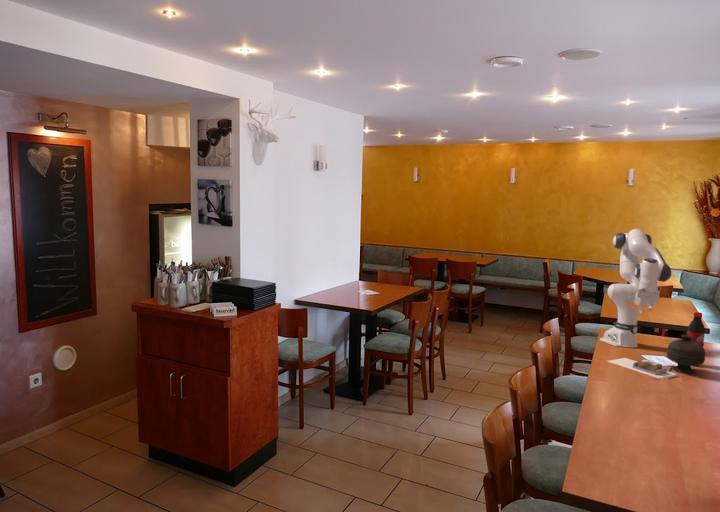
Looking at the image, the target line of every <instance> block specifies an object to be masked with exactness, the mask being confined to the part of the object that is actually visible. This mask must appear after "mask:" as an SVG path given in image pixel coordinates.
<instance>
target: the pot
mask: <svg viewBox="0 0 720 512" xmlns="http://www.w3.org/2000/svg"><path fill="white" fill-rule="evenodd" d="M680 335H681V336H680V338H678V339H674V340H672V341H670V342H669V343H668V345H667V348H666V357H667V358H668V359H669V360H671V361H672V362H675V363H676V364H677V365H675V366H674V367H672V370H673V371H675V372H677V373H681V374H685V375H686V374H687V375H692V374H695V373H696V371H695V369H693V368H692V367H697V366H696V365H699V366H700V365H704V363H705V360H706V352H705V351H706V350H705V348H704V346H703V347H702V346H701V345H700V344H699V343H697V342H695V341H692V340H691V339H692V338H693V336H690V335H687V334H680Z"/></svg>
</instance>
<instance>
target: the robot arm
mask: <svg viewBox="0 0 720 512" xmlns="http://www.w3.org/2000/svg"><path fill="white" fill-rule="evenodd" d="M652 241H653V240H652V236H651V234H648V233H645V231H643V230H642V229H640V228H633V229H631V230H629V232H618V233H616V234H615V235H614V237H613V238H612V243H613V247H614V248H615V249H617V250H621V252H620V256H619V276H620V277H621V278H622V279H623V280H624V281H627V282H628V283H612V284H610V285H609V286H608V288H607V296H608V297H609V299H610V300H612V301H613V303H615V305H616V307H617V321H614V322H613V325H614V326H613V327H611V328H609V329H607V330H605V332H604V335H603V336H602V337H600V338H599V341H600V342H604V343H606V344H609V345H612V346H615V347H618V348H619V347H621V348H633V349H634V348H638V341H637V340H638V339H637V332H638V316H639V314H644V312H645V311H644V306H648V307H647V311H648V312H650V313H651V312H652V311H653V308H654V306H655V304H657V303H659V300H660V291H661V290H662V288H661V286H659V285H658V282H662V283H664V282H666V281H668V280H669V279H670V278H671V277H672V268H671V267H670V266H669V264H667V262H666V260H665V258H664V257H663V255H662V254H661V252H660V251H659V250H658V248H657V247H655V246H653V245H652V244H653V242H652ZM640 258H643V259H642V262H640V260H639V259H640ZM631 302H633V304H634V305H635V306H638V311H637V309H635V307H633V306H630V304H629V303H631ZM638 312H639V313H638Z"/></svg>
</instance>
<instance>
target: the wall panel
mask: <svg viewBox="0 0 720 512" xmlns="http://www.w3.org/2000/svg"><path fill="white" fill-rule="evenodd" d="M607 362H608V363H611V364H614V365H616V366H617V365H618V366H620V367H622V368H625V369H629V370H632V371H635V372H637V373H638V372H639V373H641V374H645V375H647V376H650V377H651V379H653V380H656V381H660V379H661V378H663V379H664V380H666V379H671V378H676V377H677V376H678V374H677V373H675V372H671V371H668V368H666V367H665V368H664V367H663V368H662V369H659V370H656V373H655V372H652V371H649V370H646V369H643V368H640V367H638V361H637V360H633V359H630V358H627V357H621V358H616V359H611V360H607Z"/></svg>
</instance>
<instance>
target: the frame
mask: <svg viewBox="0 0 720 512" xmlns="http://www.w3.org/2000/svg"><path fill="white" fill-rule="evenodd" d="M637 362H638V367H640V368H643V369H646V370H649V371H652V372H655V373H656V370H659V369H663V364H661V363H659V362H655V361H652V360H651V361H650V360H647V359H641V360H638V361H637Z"/></svg>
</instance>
